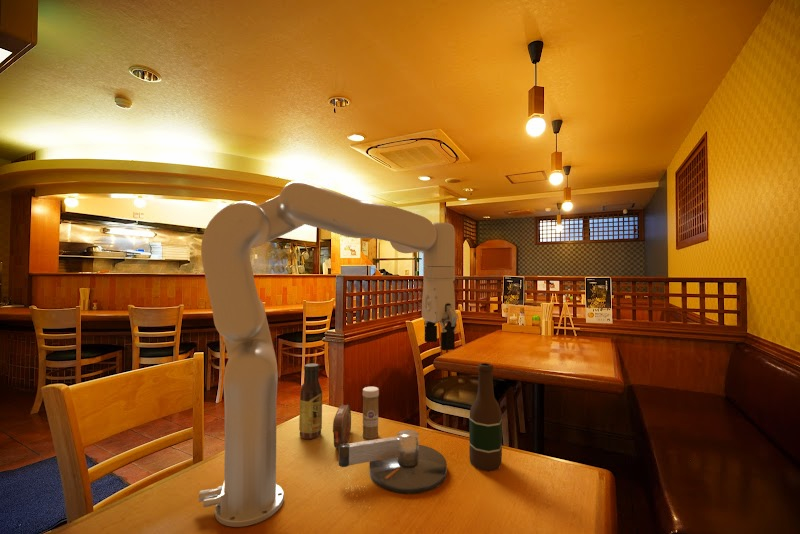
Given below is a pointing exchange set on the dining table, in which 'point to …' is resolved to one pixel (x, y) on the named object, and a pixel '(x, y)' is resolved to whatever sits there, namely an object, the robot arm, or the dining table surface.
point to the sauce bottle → (310, 404)
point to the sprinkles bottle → (370, 412)
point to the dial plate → (410, 473)
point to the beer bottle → (485, 424)
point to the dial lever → (382, 450)
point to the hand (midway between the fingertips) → (438, 345)
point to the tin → (342, 425)
